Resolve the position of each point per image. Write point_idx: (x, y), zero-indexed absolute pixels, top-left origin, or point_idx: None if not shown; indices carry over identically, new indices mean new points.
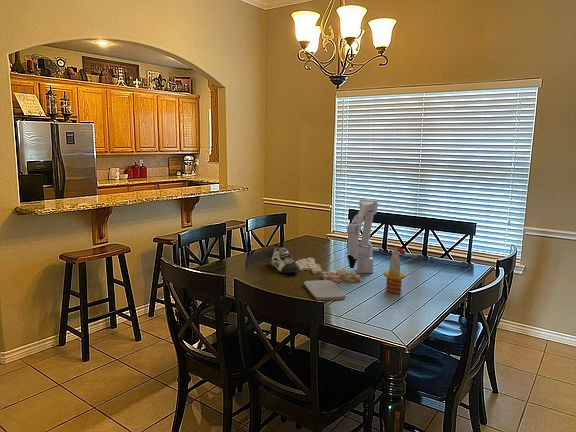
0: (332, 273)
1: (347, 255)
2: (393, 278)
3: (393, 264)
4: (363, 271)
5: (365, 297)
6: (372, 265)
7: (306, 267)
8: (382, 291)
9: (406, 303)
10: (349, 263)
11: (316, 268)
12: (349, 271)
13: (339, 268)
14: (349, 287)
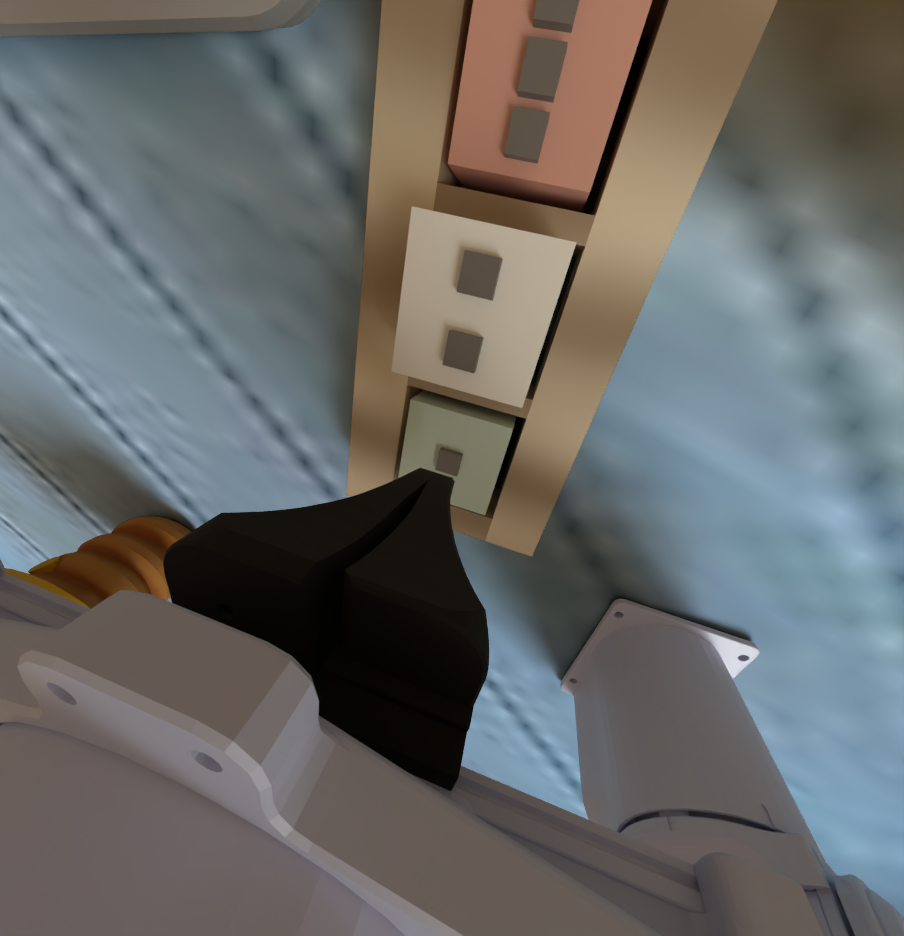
0: (513, 113)
1: (442, 639)
2: None
3: None
4: (601, 646)
5: (8, 291)
6: (580, 758)
7: None
8: (164, 487)
9: (12, 485)
10: (402, 496)
11: None
12: (556, 490)
13: (471, 266)
14: (215, 270)
